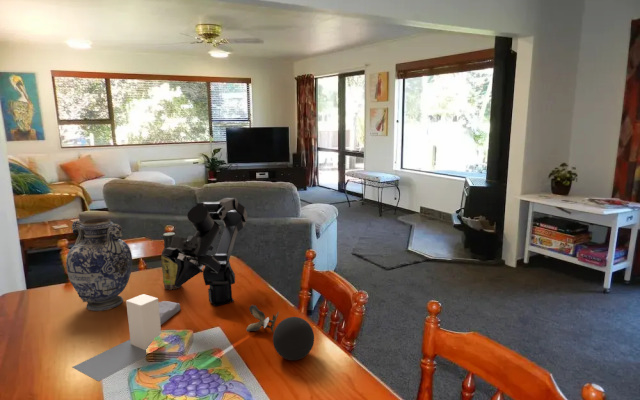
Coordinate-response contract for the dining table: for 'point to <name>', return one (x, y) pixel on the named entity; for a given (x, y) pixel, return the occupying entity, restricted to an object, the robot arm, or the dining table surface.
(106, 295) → the decorative vase
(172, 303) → the stone block
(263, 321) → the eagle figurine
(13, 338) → the dining table surface
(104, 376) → the mat
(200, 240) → the robot arm
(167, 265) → the sauce bottle
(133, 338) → the tall block
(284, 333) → the speaker
